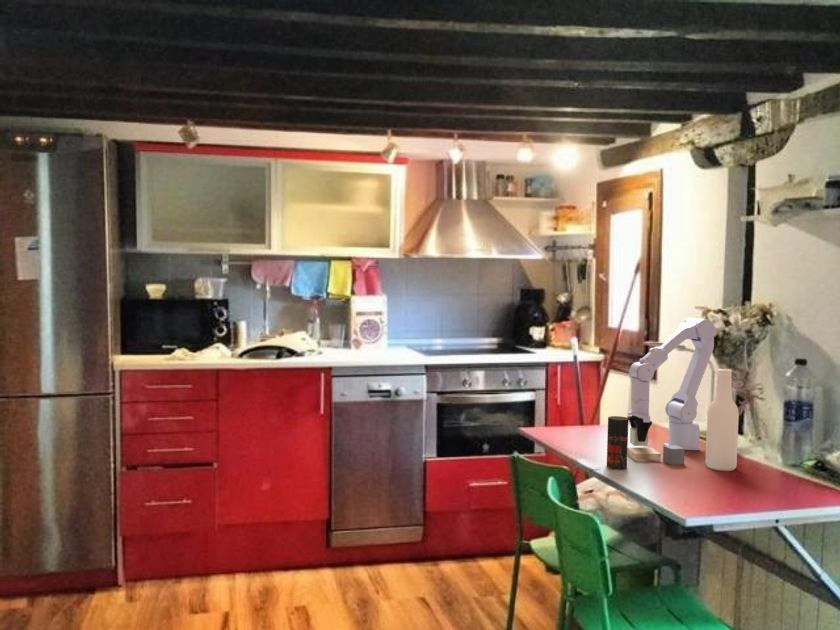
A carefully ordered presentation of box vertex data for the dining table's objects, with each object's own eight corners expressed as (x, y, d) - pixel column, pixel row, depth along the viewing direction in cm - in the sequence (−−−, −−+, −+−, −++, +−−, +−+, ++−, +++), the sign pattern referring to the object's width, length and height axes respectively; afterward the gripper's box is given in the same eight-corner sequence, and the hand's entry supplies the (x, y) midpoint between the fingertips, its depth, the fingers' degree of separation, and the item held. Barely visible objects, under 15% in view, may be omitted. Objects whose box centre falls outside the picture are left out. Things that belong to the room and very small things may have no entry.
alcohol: (699, 466, 233) (703, 368, 231) (716, 462, 237) (720, 366, 235) (724, 473, 225) (728, 372, 223) (742, 468, 230) (746, 370, 228)
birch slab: (651, 455, 246) (651, 447, 245) (660, 461, 238) (660, 453, 237) (627, 454, 245) (627, 447, 245) (635, 461, 237) (635, 453, 237)
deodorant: (604, 464, 233) (605, 416, 232) (623, 464, 233) (625, 416, 232) (609, 469, 227) (610, 420, 226) (629, 470, 227) (630, 420, 226)
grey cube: (675, 460, 239) (675, 445, 239) (684, 464, 235) (684, 448, 235) (662, 461, 238) (663, 445, 237) (671, 465, 233) (672, 449, 233)
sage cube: (643, 442, 255) (643, 427, 254) (647, 445, 250) (648, 430, 250) (629, 442, 255) (630, 427, 254) (634, 445, 250) (634, 430, 250)
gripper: (621, 395, 258) (620, 434, 259) (635, 402, 244) (634, 444, 245) (641, 395, 259) (640, 434, 260) (657, 402, 244) (655, 444, 245)
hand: (639, 439), depth 252 cm, fingers closed on sage cube, 4 cm apart
